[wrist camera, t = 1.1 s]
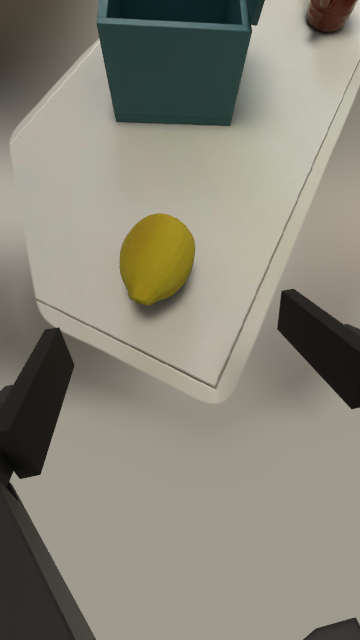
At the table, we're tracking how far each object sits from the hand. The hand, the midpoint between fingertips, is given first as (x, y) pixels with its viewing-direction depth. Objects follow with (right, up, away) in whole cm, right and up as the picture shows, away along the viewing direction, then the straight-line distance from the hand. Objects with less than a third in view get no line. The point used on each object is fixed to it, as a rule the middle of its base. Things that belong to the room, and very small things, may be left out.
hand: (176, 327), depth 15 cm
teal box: (-1, +37, +25) cm, 44 cm away
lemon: (-3, +6, +16) cm, 18 cm away
